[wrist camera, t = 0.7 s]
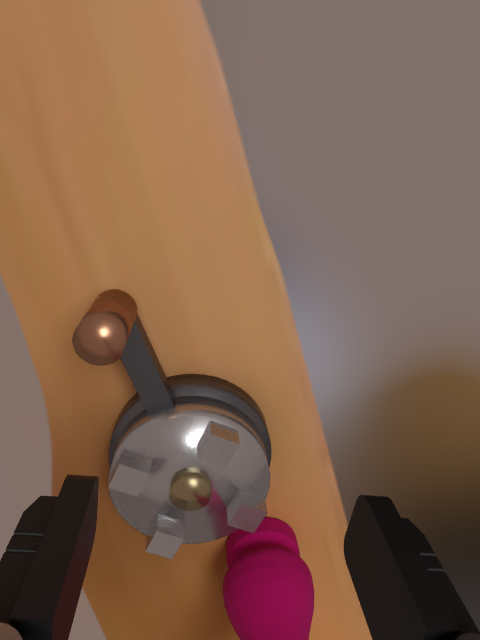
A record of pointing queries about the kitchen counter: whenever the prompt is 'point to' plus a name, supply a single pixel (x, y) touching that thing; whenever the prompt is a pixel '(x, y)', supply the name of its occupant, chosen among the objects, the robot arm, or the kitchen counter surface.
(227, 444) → the crank handle
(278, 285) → the kitchen counter surface
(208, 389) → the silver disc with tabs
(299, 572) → the pepper mill
